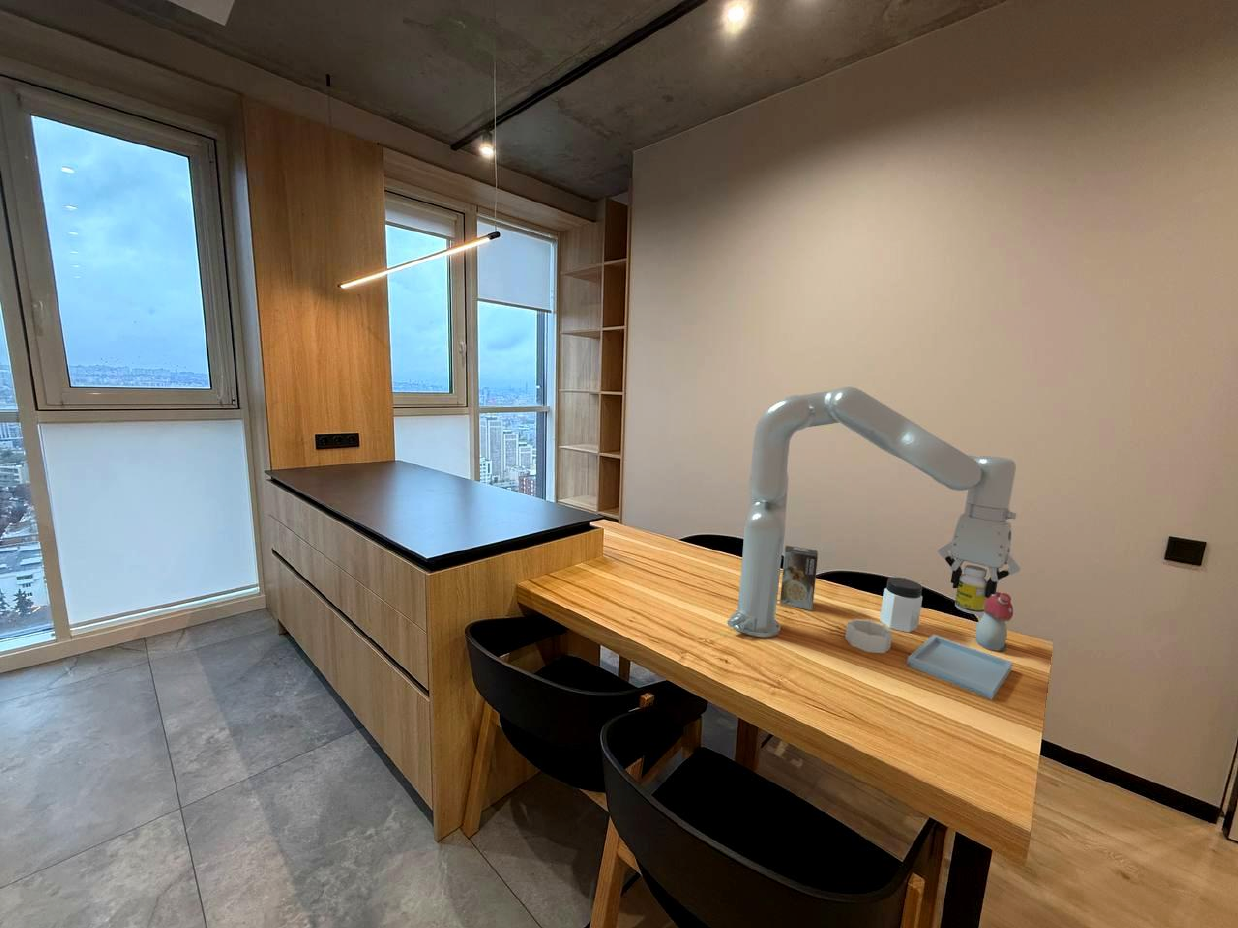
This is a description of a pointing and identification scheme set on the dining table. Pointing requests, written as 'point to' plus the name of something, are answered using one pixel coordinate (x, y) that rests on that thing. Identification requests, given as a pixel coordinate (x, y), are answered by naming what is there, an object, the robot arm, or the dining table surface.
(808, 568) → the coffee box
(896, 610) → the jar
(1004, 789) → the dining table surface
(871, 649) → the bowl
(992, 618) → the decorative ornament
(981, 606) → the supplement bottle
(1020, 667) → the dining table surface
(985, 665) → the tray
